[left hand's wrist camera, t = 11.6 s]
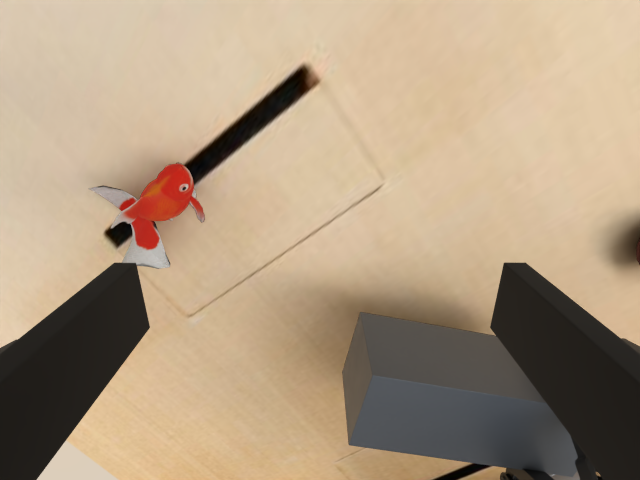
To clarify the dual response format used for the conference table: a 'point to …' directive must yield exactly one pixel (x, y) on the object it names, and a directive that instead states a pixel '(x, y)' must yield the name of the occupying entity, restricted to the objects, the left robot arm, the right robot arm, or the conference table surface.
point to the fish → (153, 212)
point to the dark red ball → (638, 252)
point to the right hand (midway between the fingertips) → (506, 372)
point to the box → (448, 398)
